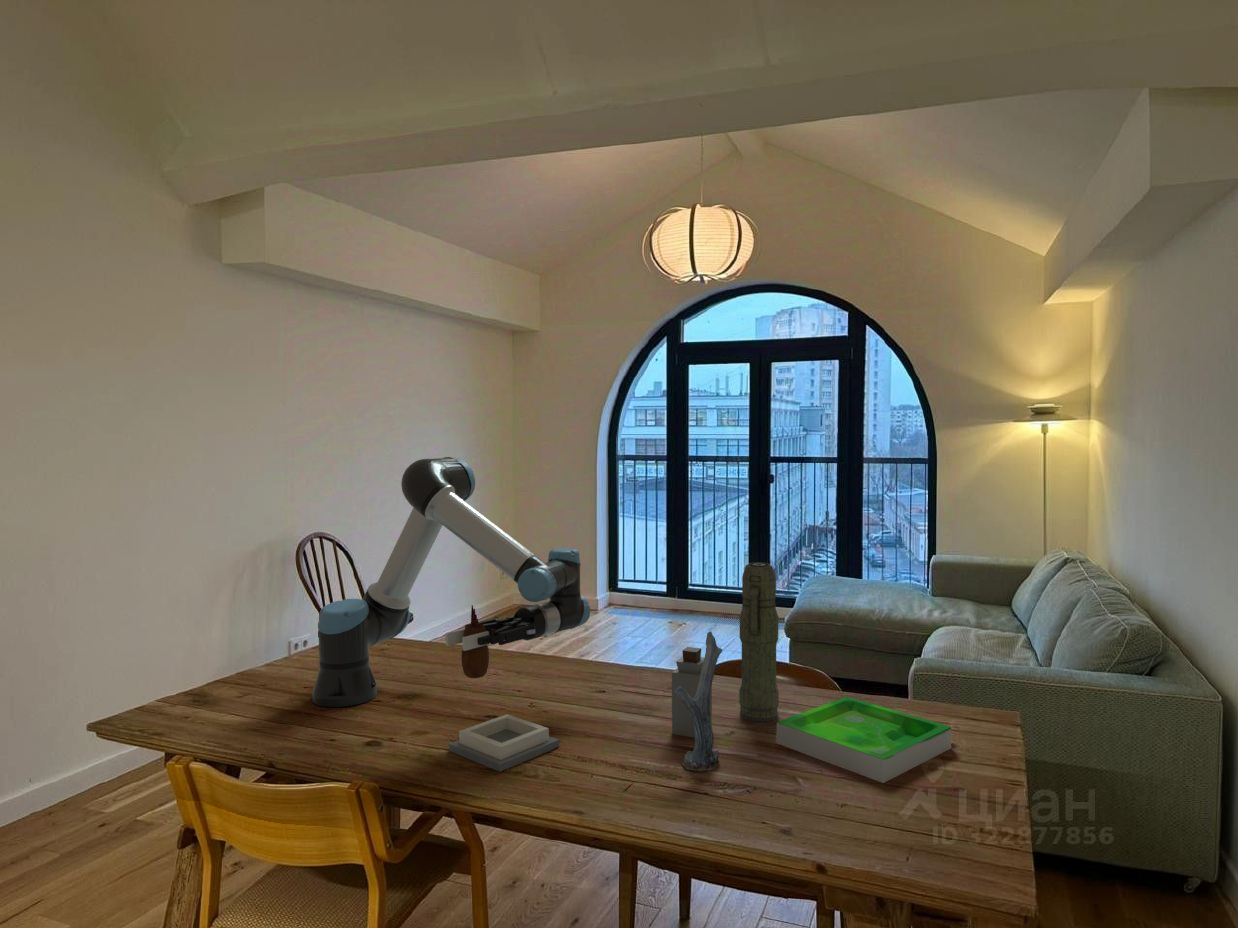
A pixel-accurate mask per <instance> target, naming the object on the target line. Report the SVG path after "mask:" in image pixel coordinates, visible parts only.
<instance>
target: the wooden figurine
mask: <svg viewBox="0 0 1238 928" xmlns="http://www.w3.org/2000/svg"><path fill="white" fill-rule="evenodd" d="M470 609H471V613H470V623H468V624H469V625H467V624H466V625H467V626H466V627H465V626H464V629H465V630H464V637H466V636H470V635H474V634H478V633H482V632H486V629H485V627H484V625H483V624H479V623H478V622H479V618H478V616H477V614H476V608H474V605H473V604H471V608H470ZM489 662H490V649H489V645H485V646H481V647H478V648H474V649H470V650H466V651H464V650H463V647H462V649H461V667H462V671H463V674H464V675H465V677H467V678H468V679H469V678H470V679H479V678H483V677H484V676H485V675H486V674H487V672H488V669H489Z"/></svg>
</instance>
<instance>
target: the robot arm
mask: <svg viewBox="0 0 1238 928" xmlns="http://www.w3.org/2000/svg"><path fill="white" fill-rule="evenodd" d="M401 477H402V478H401V484H400V485H401V491H402V494H403V496H404V498H405V499H406V501H407V502H408V504H409V505H410V506H411V507H412V510H411V511H410V514H409V516H408V518H407V520H406V522H405V524H404V526H403V528H402V531H401V532H400V534H399V537H398V539H397V541H396V543H395V545H394V547H393V549H392V551H391V553H390V555H389V557H388V560H387V561H386V564H385V566H384V567H383V570H382V571H381V572H382V573H380V577H379V579H378V580H377V581H376V582H373V583H371V584H370V585H369V586H368V588H367V589H366V591H365V594H364V595H363V598H362V599H361V598H346V599H345V598H344V599H342V600H335V601H333V602H330V603H328V604H325V605H324V606H323V607H322V608H321V609H320V611H319V614H318V623H317V629H318V630H317V631H318V655H319V656H318V658H319V659H318V660H319V661H318V662H319V667H318V668H319V669H318V673H317V676H316V678H315V679H316V680H315V682H314V683H315V684H314V685H313V689H312V703H314V704H315V705H316V706H319V707H324V708H325V707H326V708H344V707H350V706H351V707H352V706H357V705H361V704H363V703H366V702H369V701H371V700H373V699H375V697H377V695H378V686H377V682H376V679H375V676H374V674H373V670H372V668H371V666H370V649H369V648H370V647H374V646H375V645H378V644H380V643H383V642H385V641H389V640H393V638H395V637H397V636H398V635H399V634H401V633H402V632H403V631H404V630H405V629H406V628H407V626H408V624H409V622H410V617H411V611H410V605H411V598H410V597H409V595H410V592H411V590H412V588H413V586H414V584H415V582H416V580H417V578H418V576H419V574H420V573H421V570H422V568H423V566H424V564H425V562H426V560H427V558H428V555H429V553H430V552H431V550H432V548H433V545H434V543H435V542H436V540H437V537H438V535H439V533H440V531H441V529H442V527H444V528H445V529H447V530H448V531H450V532H451V533H452V534H453V535H454V536H455V537H457V538H458V539H460V540H461V541H462V542H463V543H465V544H466V545H467V546H469V547H470V548H471V549H472V550H473V551H475V552H476V553H478V554H479V555H480V556H482V557H483V558H484V559H485V560H487V562H489V563H490V564H492V565H493V566H494V567H496V568H497V569H498V570H500V572H502V573H503V574H505V575H506V576H507V577H508V578H510V579H511V580H512V581H513V582H514V583H516V584H517V589H518V591H519V594H520V595H521V597H523V599H524V600H525V601H528V602H531V603H536V604H533V605H528V606H523V607H520V608H518V609H517V610H516V612H515V613H514V615H513V616H507V617H505V618H501V619H499V616H494V617H492V618H490V619H484V620H481V621H478V623H479V624H483V625H484V627H485V629H486V632H482V633H478V634H474V635H470V636H466V637H464V630H465V627H466V626H467V625H469V624H470V623H467V624H465V625H464V628H460V629H457V630H453V631H449V632H445V646H446V647H450V646H455V645H459V644H462V648H463V650H464V651H466V650H470V649H474V648H478V647H481V646H485V645H488V646H489V645H496V644H498V645H499V646H503V645H506V644H510V643H514V642H518V641H522V640H523V641H532V640H535V639H539V638H540V637H543V638H544V639H545V638H547V637H548V635H552V634H557V633H559V632H563V631H566V630H573V629H576V628H579V627H580V626H582V625H584V624H586V623H587V622H588V621H589V619H590V616H591V606H590V605H589V601H588V600H587V599H586V597H585V596H583V595H582V594H581V565H582V564H581V560H580V559H581V556H580V551H579V550H577V549H576V548H571V547H558V548H554V549H553V548H552V549H550V550H549V552H548V559H547V561H546V562H545V561H543V560H542V559H541V558H539V557H538V556H537V555H535V554H534V553H533V552H532V551H530V550H529V549H528V548H526V546H524V545H523V544H521V543H520V542H518V541H517V540H516V539H515V538H514V537H512V536H511V535H510V534H508V533H507V532H506V531H504V530H503V529H502V528H500V527H499V525H496V524H495V523H494V522H493V521H492V520H490V519H489V518H487V517H486V516H485V515H484V514H482V513H481V512H480V511H478V510H477V509H475V508H474V507H473V506H472V505H471V504H470V503H468V502H467V500H468V499H469V498H471V496H472V495H473V493H474V491H475V489H476V477H475V473H474V471H473V468H471V466H470V465H469V464H468V463H467V462H466V461H464V460H463V459H461V458H456V457H451V456H444V457H441V458H438V457H437V458H423V459H422V458H421V459H419V460H418V459H417V460H416V461H414V462H412V463H410V465H408V467H407V468H405V470H404V472H403V474H402V476H401ZM546 600H549V601H546ZM542 601H544V602H542ZM537 602H539V603H537ZM540 602H541V603H540Z"/></svg>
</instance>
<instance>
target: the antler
mask: <svg viewBox="0 0 1238 928" xmlns="http://www.w3.org/2000/svg"><path fill="white" fill-rule="evenodd" d="M706 634H707V635H706V637H705V638H706V640H705V645H706V646H705V652H704V653H705V655H704V662H703V666H702V670H701V674H700V679H699V683H698V688H697V692H696V695H695V697H694V698H692V697H690V696H689V695H688V693H687V692H686V691H685V690H684V688H683V687H681V686H679V687H677V688H676V689H675V693H676V695H677V696H678V698H679V699H680V700H682V701H683V703H685V705H686V707H687V710H688V712H689V715H690V716H691V719H692V723H693V724H694V732H695V738H694V746H693V747H694V749H693V751H691V750H688V751H686V754H685V755H684V759H683V760H684V761H683V762H682V763H681V766H683V767H684V768H685V769H686V770H690V771H691V770H692V771H695V772H696V771H697V772H703V771H712V770H715V769H716V768H717V767H718V766H719V765H720V760H719V756H720V755H719V753H720V752H719V750H715V751H713V746H714V745H713V744H714V743H713V742H714V734H713V730H712V729H713V728H711V722H710V716H711V715H710V709H709V708H710V691H711V686H712V684H713V679H714V676H715V671H716V666H717V663H718V659H719V658H720V656H721V655H720V654H721V653H722V652H723V649H722V648H721V647H718V645H717V642H716V637H715V636H714V635H713V633H712V631H708V632H706ZM712 687H713V686H712Z"/></svg>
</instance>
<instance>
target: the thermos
mask: <svg viewBox="0 0 1238 928" xmlns="http://www.w3.org/2000/svg"><path fill="white" fill-rule="evenodd" d="M773 567H774V566H773V565H772V564H770V563H768V562H762V561H761V562H760V561H758V562H755V561H754V562H749V563H748V564H746V565H745V567H744V570H743V572H742V577H741V579H742V580H741V581H742V582H741V584H742V585H741V590H742V592H741V593H742V594H741V596H742V604H741V606H742V607H741V611H740V614H739V640H740V642H741V685H740V688H739V690H738V691H739V694H738V696H739V699H738V700H739V701H738V702H739V707H740V708H739V715H740V717H742V718H744V719H746V720H748V721H754V722H771V721H774V720H776V719H778V716H779V712H778V708H779V703H780V702H779V699H780V698H779V696H780V695H779V692H780V691H779V687H778V684H777V643H778V642H779V615H778V612H777V609H776V608H777V607H776V606H777V604H776V598H777V595H776V594H777V593H776V592H777V585H776V584H777V583H776V582H777V578H776V577H777V576H776V573H775V570H774V568H773Z"/></svg>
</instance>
